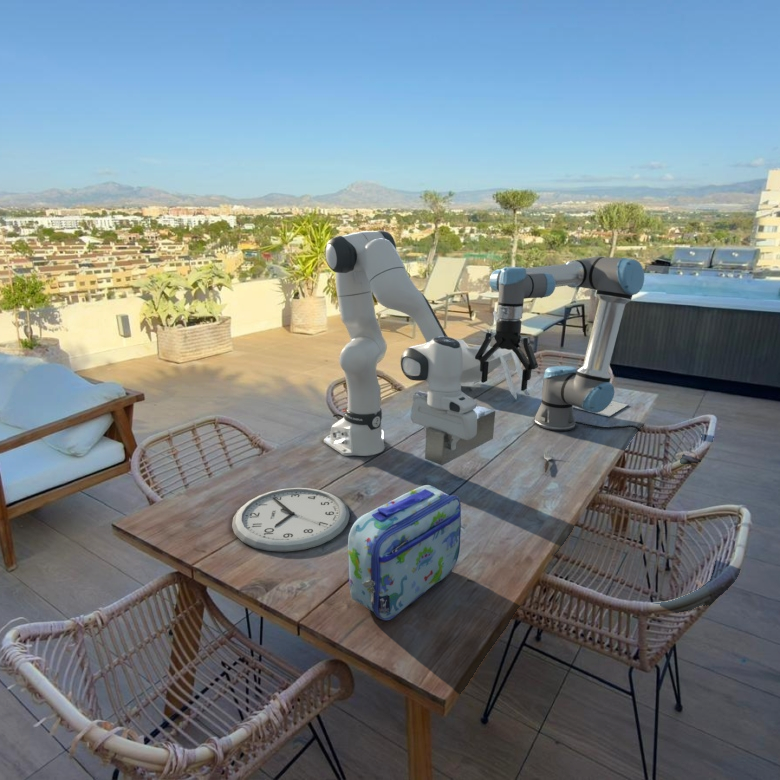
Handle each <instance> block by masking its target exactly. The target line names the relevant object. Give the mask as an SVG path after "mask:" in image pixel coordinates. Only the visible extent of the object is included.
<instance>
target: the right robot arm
mask: <svg viewBox="0 0 780 780" xmlns="http://www.w3.org/2000/svg"><path fill="white" fill-rule="evenodd" d="M488 283H489V287H490V289H491V290H492V291H494V292H497V293H498V299H497V300H498V301H497V311H496V313H497V317H498V318H499V319H497V322H496V321H495V333H494V332H493V331H489V332H486V333H485V337H484V340H483V342H482V344H480V345H481V347H480V349H479V351H478V352H477V354H476V356H475V359H478V360H479V361H480V371H481V372H482V380H481V381H480V382H481V383H482V384H484V383H486V382H488V375H489V374H488V364H489V362H488V361H486V360H487V359H488V358H489V357H490V356H491V355H492V354H493V353H494V352H495V351H496V350H498V349H500V348H501V349H507V350H513V352H515V353H516V355H517V357H518V359H519V362H520V364H522V366H523V368H524V369H522V371H523V374H522V385H521V384H520V385H521V386H520V391H521V392H524V390H526V389H527V387H528V381H530V380H531V378H532V370H536V369H537V368H539V364H538V361H537V359H536V355H535V352H534V350H533V347H532V344H531V337H530V336H527V337H525V336H524V337H522V336H521V332H522V320H521V319H523V311H524V310H523V308H524V301H525V300H526V299H537V298H538V299H543V298H547V297H550V296H552V295H553V293H554V292H555V289H556V288H558V287H566V286H567V287H568V288H571V289H572V288H573V289H575V288H582V289H589V290H594V291H596V293H595V296H596V297H597V299H598V304H597V308H596V313H595V314H594V315H595V316H594V320H593V324H592V328H591V332H590V335H589V340H588V344H587V346H586V347H587V348H586V351H585V354H584V355H585V356H584V360H583V364H582V366H581V367H580V368H578V369H577V367H574V366H569V365H568V366H567V365H557V366H550V367H547V368H546V369H545V371H544V375H543V378H542V379H543V381H542V392H541V402H540V405H539V407H538V410H537V411H536V413H535V417H534V424H535V425H536V426H537V427H539V428H542V429H544V430H549V431H556V432H567V431H572V430H574V429H575V428H576V425H580V426H586V427H591V428H595V429H600V430H601V429H602V430H613V429H627V428H633V429H636V430H637V431H642V429H641V428H640V427H638V426H636V425H632V424H630V425H629V424H628V425H614V426H603V425H596V424H591V423H586V422H581V421H576V418H575V417H576V416H575V413H574V407H579V408H582V409H584V410H585V411H584V410H583V411H584V412H588V411H590V412H589V413H592V412H594V413H593V414H596V413H597V412H601V411H603V410H604V409H605V408H606V407H608V405H609V404H610V403H611V401H613V399H614V396H615V387H614V385H613V384H612V383H611V379H612V377H611V375H610V373H609V368H610V364H611V361H612V357H613V353H614V348H615V345H616V342H617V337H618V333H619V330H620V325H621V322H622V319H623V315H624V311H625V306H626V304H628V303H630V302H631V301H632V298H633V296H634V295H638V293H640V291H641V290H642V288H643V286H644V283H645V271H644V268H643V265H642V263H640V262H639V261H638V260H637V259H633V258H627V257H612V256H610V257H609V256H591V257H586V258H580V259H571V260H568V261H567V262H566V263H563V264H554V265H553V264H552V265H544V266H534V267H521V266H505V267H503V268H501V269H495V270H493V271H492V272H491V274H490V276H489V282H488ZM492 340H495V343H494V344H493V345H492V347H491V349H490V350H489V351H488V352H487V353H486V354H485V355H484V356H483V354H484V352H485V350H486V349H487V347H488V345H490V343H491V342H492ZM520 343H521V344H522V345H523V348H524V351H525V353H524V351H523V350H522V346H520ZM573 406H574V407H573Z"/></svg>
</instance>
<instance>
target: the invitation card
mask: <svg viewBox="0 0 780 780" xmlns="http://www.w3.org/2000/svg"><path fill="white" fill-rule="evenodd" d="M628 406H629V404H627V403H623V402H618V401H614V400H612V401H611V403H610V404H609V405H608V407H606V408H605V409H604V410H603V411H601V412H597V413H594V412H590V411H587V413H593V414H596V415H600V416H604V417H608V418H609V417H611V416H613V415H614V414H616V413H617V412H619V411H621V410H623V409H624V408H626V407H628ZM573 409H575V410H581V411H584V412H586V411H585V410H584V409H582V408H579V407H576V406H574V407H573Z"/></svg>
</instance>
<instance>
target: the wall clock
mask: <svg viewBox="0 0 780 780" xmlns="http://www.w3.org/2000/svg"><path fill="white" fill-rule="evenodd" d="M350 514H351V513H350V510H349V507H348V505H346V503H345V502H344V501H343V500H342V499H340V498H339V497H337V496H335V494H332V493H329V492H327V491H324V490H322V489H321V490H320V489H316V488H310V487H290V488H289V487H288V488H282V489H281V488H280V489H277V490H276V489H275V490H271V491H268V492H265V493H262V494H260V495H257V496H256V497H254V498H252V499H250V500H248V501H247V502H246V503H244V504H243V505H242V506H241V507H240V508H239V509H237V511H236V513H234V516H233V518H232V524H231V528H232V530H233V533H234V535H235V536H236V538H238V540H240V541H241V542H242V543H243V544H245V545H248V546H250V547H252V548H254V549H259V550H263V551H267V552H281V553H282V552H285V553H286V552H287V553H288V552H295V551H303V550H307V549H311V548H315V547H318V546H322V545H323V544H325V543H328V542H329V541H330V542H331V541H332V540H334V539H335V538H336V537H338V536H339V535H340V534H341V533H343V531H344V530H345V528H346V527H347V526H348V525H349V521H350Z"/></svg>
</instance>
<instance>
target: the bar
mask: <svg viewBox="0 0 780 780" xmlns="http://www.w3.org/2000/svg"><path fill="white" fill-rule="evenodd" d="M473 410H474V411H475V412H476V415H477V434H476V436H475V437H473V438H472V439H470V440H464V439H461V438H460V439H459V440H458V442H457V443H456V449H455V450H451V449H448V443H450V442H452V441H453V439H452V435H449V434H447V433H446V432H443V431H440V430H437V429H434V428H431V427H428V428H426V433H425V449H424V460H426V461H429V462H432V463H434V464H437V465H440V466H444V465H446V464H447V463H450V462H452V461H454V460H456V459H457V458H459V457H461V456H463V455H465V454H467V453H470V451H473V450H474V449H476V448H479V447H480V446H482V445H484V444H486V443H488V442H490V441H492V440H494V433H495V432H494V431H495V421H496V410H494V409H490V408H487V407H484V406H481V405H478V406H476V408H475V409H473Z"/></svg>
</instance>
